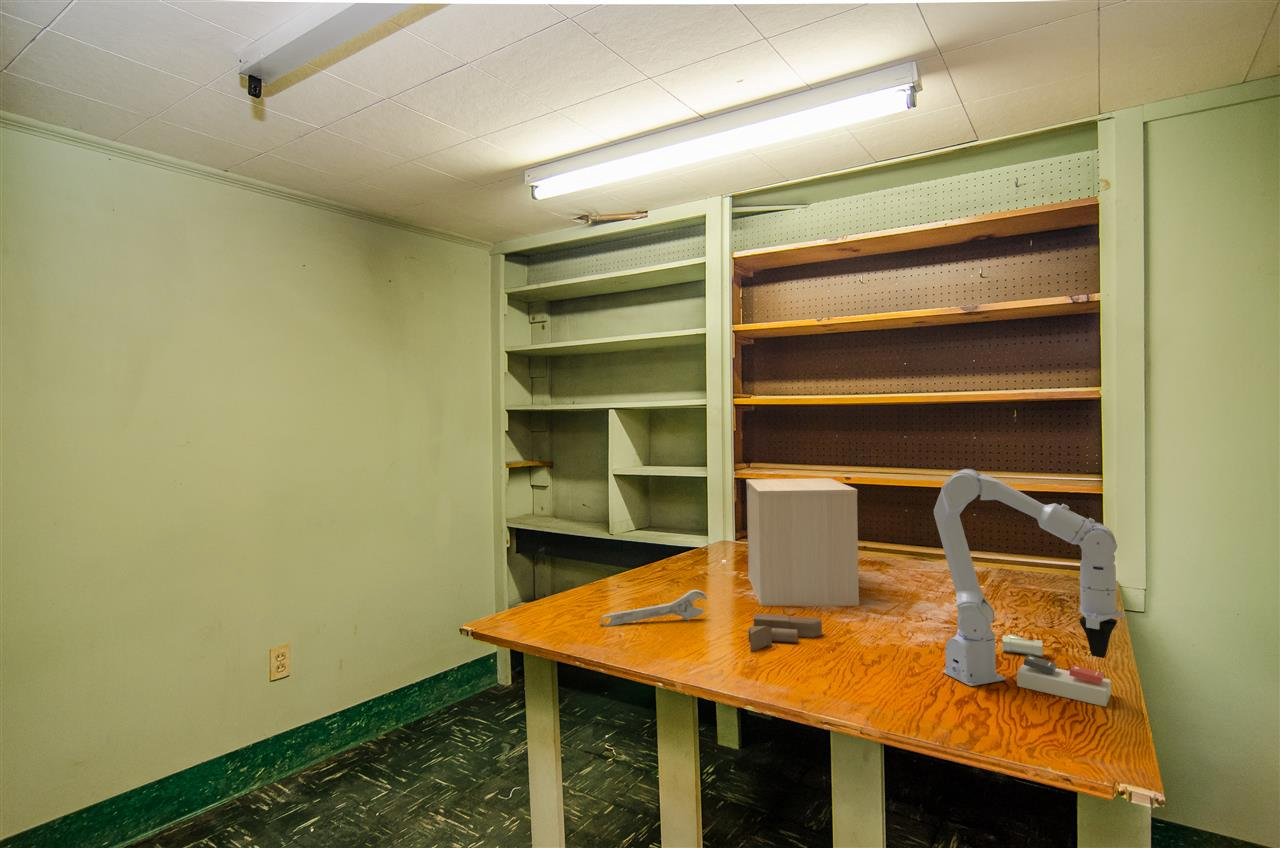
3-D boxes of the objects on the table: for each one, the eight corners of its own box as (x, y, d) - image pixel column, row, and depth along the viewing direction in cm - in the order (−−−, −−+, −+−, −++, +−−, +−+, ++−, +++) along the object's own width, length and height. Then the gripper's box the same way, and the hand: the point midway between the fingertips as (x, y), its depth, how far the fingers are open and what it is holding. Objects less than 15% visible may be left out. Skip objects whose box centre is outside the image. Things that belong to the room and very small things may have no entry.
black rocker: (1055, 669, 134) (1056, 663, 134) (1052, 674, 131) (1053, 668, 131) (1027, 660, 137) (1028, 654, 137) (1023, 664, 135) (1024, 658, 135)
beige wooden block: (747, 576, 229) (746, 479, 228) (831, 576, 227) (830, 477, 227) (760, 605, 194) (758, 490, 193) (859, 605, 192) (857, 489, 192)
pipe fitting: (1003, 646, 158) (1002, 653, 152) (1003, 630, 158) (1002, 636, 152) (1041, 652, 154) (1042, 659, 148) (1041, 635, 154) (1042, 642, 148)
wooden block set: (751, 609, 173) (821, 613, 169) (751, 630, 173) (821, 635, 169) (745, 629, 157) (823, 634, 152) (745, 652, 157) (823, 658, 152)
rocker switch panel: (1111, 694, 129) (1110, 679, 129) (1106, 706, 124) (1105, 691, 124) (1024, 675, 139) (1024, 661, 139) (1017, 686, 134) (1016, 671, 134)
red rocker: (1103, 678, 128) (1104, 672, 128) (1101, 684, 126) (1101, 677, 126) (1072, 670, 132) (1072, 664, 132) (1069, 675, 129) (1069, 669, 129)
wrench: (603, 635, 180) (708, 615, 184) (603, 637, 178) (709, 617, 182) (599, 606, 179) (704, 587, 183) (599, 608, 178) (705, 589, 182)
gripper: (1118, 598, 119) (1119, 672, 119) (1127, 582, 130) (1128, 650, 130) (1072, 592, 124) (1073, 663, 124) (1085, 577, 135) (1085, 642, 135)
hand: (1098, 656), depth 127 cm, fingers closed
